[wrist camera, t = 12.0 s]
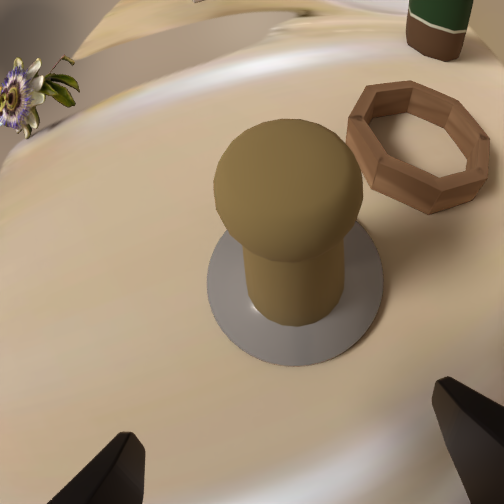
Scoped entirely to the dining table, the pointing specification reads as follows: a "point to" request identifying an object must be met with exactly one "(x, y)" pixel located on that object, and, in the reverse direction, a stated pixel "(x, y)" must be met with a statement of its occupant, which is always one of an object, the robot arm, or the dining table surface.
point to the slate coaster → (289, 337)
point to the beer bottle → (438, 27)
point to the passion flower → (31, 94)
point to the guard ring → (403, 174)
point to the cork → (290, 215)
